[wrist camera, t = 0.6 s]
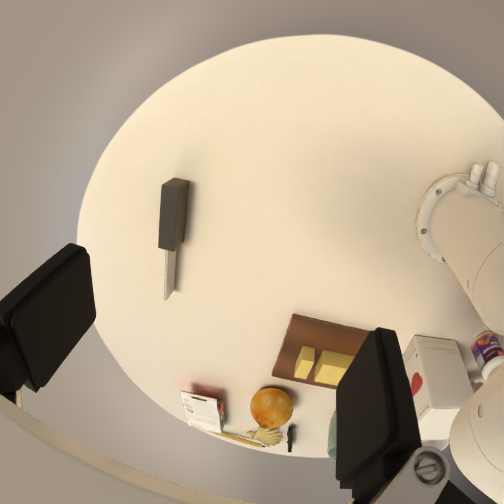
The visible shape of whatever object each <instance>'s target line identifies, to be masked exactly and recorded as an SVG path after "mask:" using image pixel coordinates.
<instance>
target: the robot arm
mask: <svg viewBox="0 0 504 504" xmlns="http://www.w3.org/2000/svg"><path fill="white" fill-rule="evenodd" d="M501 169H502V166H500V165H498V164H496V163H494V162H492V161H490V160H489V163H488V166H487V170H486V175H485V178H484V181H483V183H482V182H481V181H480V180H479V178H480V177H481V174H482V171H483V167H481V166H479V165H477V164H475V163H474V164H473V167H472V170H471V175H467V174H452V175H449V176H446V177H444V178H442V179H440V180H439V181H437V182H436V183H435V184H434V185H432V186H431V187H430V189H429V190H428V191H427V192H426V194H425V195H424V197H423V199H422V201H421V203H420V206H419V208H418V212H417V218H416V229H417V235H418V238H419V241H420V243H421V245H422V247H423V248H424V250H425V251H426V252H427V254H428V255H429V256H430V257H432V258H433V259H434V260H436V261H438V262H440V263H444V264H448V265H449V267H450V268H451V270H452V271H453V273H454V274H455V276H456V278H457V279H458V281H459V282H460V284H461V286H462V287H463V289H464V290H465V292H466V294H467V295H468V297H469V299H470V300H471V302H472V304H473V306H474V307H475V309H476V311H477V313H478V315H479V316H480V318H481V320H482V321H483V323H484V324H485V325H486V326H487V327H488V328H489V329H490V330H491V331H493V332H494V333H496V334H499V335H502V336H504V211H502V210H501V209H500V208H498V207H499V204H500V202H499V201H497V200H496V199H495V198H494V197H495V193H496V190H494V188H495V186H496V183H497V179H499V175H500V172H501ZM436 189H438V190H437V191H436ZM435 191H436V192H435ZM421 229H423V230H421ZM95 318H96V309H95V301H94V294H93V285H92V276H91V266H90V256H89V254H88V253H87V251H86V249H85V248H84V247H82V246H79V245H76V244H73V243H69V244H68V245H66V246H65V247H64V248H62V249H61V250H60V251H59V252H57V253H56V254H55V255H53V256H52V257H51V258H50V259H49V260H47V261H46V262H45V263H44V264H42V265H41V266H40V267H39V268H38V269H37V270H35V271H34V272H33V273H32V274H30V276H28V277H27V278H26V279H25V280H23V281H22V282H21V283H20V284H19V285H18V286H17V287H15V288H14V289H13V290H12V291H11V292H10V293H9V294H8V295H6V296H5V297H4V298H3V299H2V300H1V301H0V504H257V503H251V502H245V501H240V500H236V499H231V498H227V497H223V496H218V495H214V494H210V493H207V492H203V491H199V490H196V489H192V488H189V487H185V486H182V485H179V484H176V483H173V482H169V481H166V480H164V479H161V478H158V477H155V476H152V475H150V474H147V473H144V472H141V471H139V470H136V469H134V468H132V467H129V466H127V465H124V464H122V463H120V462H117V461H115V460H113V459H111V458H108V457H106V456H104V455H102V454H100V453H98V452H96V451H93V450H92V449H90V448H88V447H86V446H84V445H82V444H80V443H78V442H76V441H74V440H72V439H70V438H68V437H67V436H65V435H63V434H61V433H59V432H58V431H56V430H54V429H52V428H51V427H49V426H48V425H46V424H44V423H43V422H41V421H39V420H38V419H36V418H35V417H33V416H32V415H30V414H28V413H27V412H25V411H24V410H22V399H21V387H22V386H23V384H24V385H25V386H26V387H28V388H29V389H31V390H32V391H34V392H36V393H37V391H38V390H39V388H40V387H44V386H45V385H46V384H47V383H48V381H49V380H50V379H51V377H52V376H53V375H54V373H55V372H56V370H57V369H58V368H59V366H60V365H61V364H62V362H63V361H64V360H65V358H66V357H67V356H68V354H69V353H70V352H71V350H72V349H73V348H74V347H75V345H76V344H77V343H78V341H79V340H80V339H81V338H82V336H83V335H84V334H85V333H86V331H87V330H88V329H89V328H90V326H91V325H92V323H93V322H94V321H95ZM449 441H450V448H451V452H452V455H453V458H454V460H455V462H456V463H457V466H458V467H459V469H460V470H461V471H462V473H463V474H464V475H465V476H466V477H467V478H468V479H469V481H470V482H472V483H473V484H474V485H475V486H476V487H477V488H479V489H480V490H481V491H482V492H484V493H485V494H486V495H487V496H489V497H490V498H491V499H492V500H494V501H495V502H496V503H498V504H504V361H503V362H502V363H501V365H500V366H499V367H498V368H497V369H496V371H495V372H494V373H493V374H492V375H491V376H490V377H489V378H488V380H487V381H486V382H485V383H484V384H483V385H482V386H481V387H480V388H479V389H478V390H477V391H476V392H475V393H474V395H473V396H472V397H471V398H470V399H469V400H468V401H467V402H466V403H465V404H464V405H463V407H462V408H461V409H460V410H459V412H458V413H457V415H456V416H455V418H454V420H453V423H452V425H451V429H450V435H449ZM449 476H450V465H449V461H448V459H447V457H446V456H445V455H444V454H443V452H442V451H441V450H439V449H437V448H435V447H431V446H423V447H422V442H421V436H420V431H419V425H418V420H417V415H416V409H415V405H414V400H413V395H412V391H411V386H410V382H409V378H408V376H407V374H406V369H405V365H404V361H403V357H402V353H401V349H400V346H399V342H398V338H397V335H396V332H395V331H394V330H390V329H385V328H380V327H378V328H376V329H375V331H370V332H369V333H368V335H367V337H366V339H365V340H364V342H363V344H362V346H361V347H360V349H359V351H358V352H357V354H356V356H355V357H354V359H353V361H352V362H351V364H350V365H349V367H348V369H347V370H346V372H345V373H344V375H343V377H342V378H341V380H340V381H339V383H338V385H337V389H336V479H337V480H340V489H352V499H351V500H350V501H349V502H348V503H347V504H476V503H474V502H473V501H472V500H471V499H470V498H468V497H467V496H466V495H465V494H464V493H463V492H462V491H460V490H459V489H458V488H457V487H456V486H455V485H454V484H453V483H451V482H450V481H449V480H448V478H449Z"/></svg>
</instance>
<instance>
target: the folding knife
mask: <svg viewBox="0 0 504 504" xmlns="http://www.w3.org/2000/svg"><path fill="white" fill-rule="evenodd" d="M287 436H288V441H287V443H288V452H291V450H292V442H293V426H291V427H290V425H289V429H288V432H287Z"/></svg>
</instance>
